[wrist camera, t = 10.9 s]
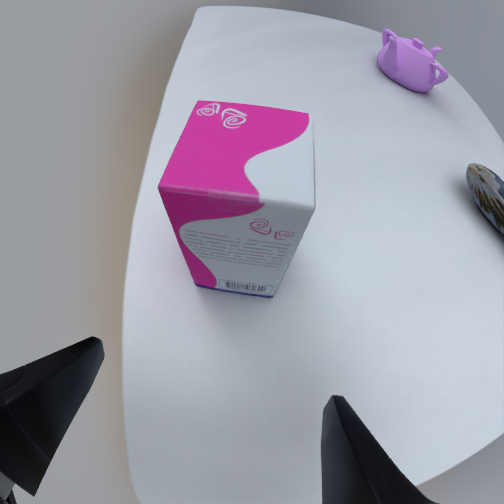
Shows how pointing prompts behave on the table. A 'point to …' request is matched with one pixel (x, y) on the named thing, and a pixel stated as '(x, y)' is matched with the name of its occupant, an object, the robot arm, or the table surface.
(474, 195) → the seashell
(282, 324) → the table surface
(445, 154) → the table surface
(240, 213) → the supplement box
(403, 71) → the teapot
